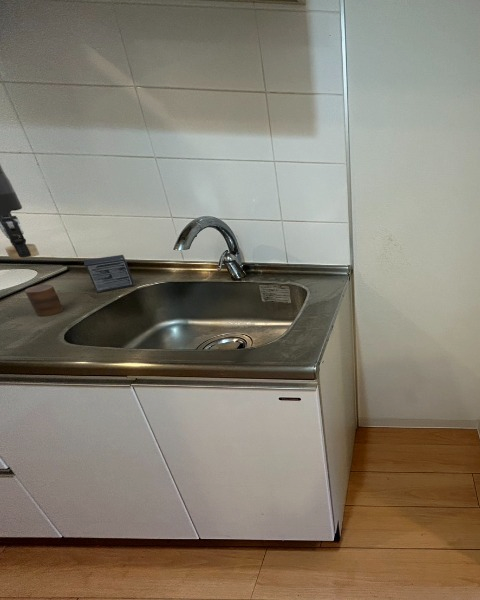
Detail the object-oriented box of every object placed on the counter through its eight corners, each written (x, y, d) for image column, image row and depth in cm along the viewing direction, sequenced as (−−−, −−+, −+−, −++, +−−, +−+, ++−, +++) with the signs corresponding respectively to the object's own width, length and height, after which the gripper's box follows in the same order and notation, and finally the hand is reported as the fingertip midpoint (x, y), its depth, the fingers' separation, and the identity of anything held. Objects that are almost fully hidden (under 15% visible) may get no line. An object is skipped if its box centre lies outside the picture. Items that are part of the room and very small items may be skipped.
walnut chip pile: (30, 316, 90) (17, 292, 86) (47, 307, 95) (36, 284, 91) (53, 316, 91) (42, 292, 87) (69, 307, 96) (59, 284, 92)
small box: (132, 280, 116) (123, 253, 111) (135, 286, 112) (126, 258, 107) (94, 287, 109) (83, 259, 104) (96, 293, 105) (84, 264, 100)
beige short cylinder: (3, 258, 84) (-2, 249, 83) (22, 252, 89) (18, 243, 88) (27, 258, 85) (22, 249, 84) (45, 252, 90) (41, 244, 88)
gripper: (-34, 188, 80) (-1, 251, 87) (-29, 195, 73) (7, 263, 80) (10, 187, 85) (38, 246, 93) (18, 193, 78) (48, 257, 86)
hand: (23, 253), depth 86 cm, fingers closed on beige short cylinder, 5 cm apart
